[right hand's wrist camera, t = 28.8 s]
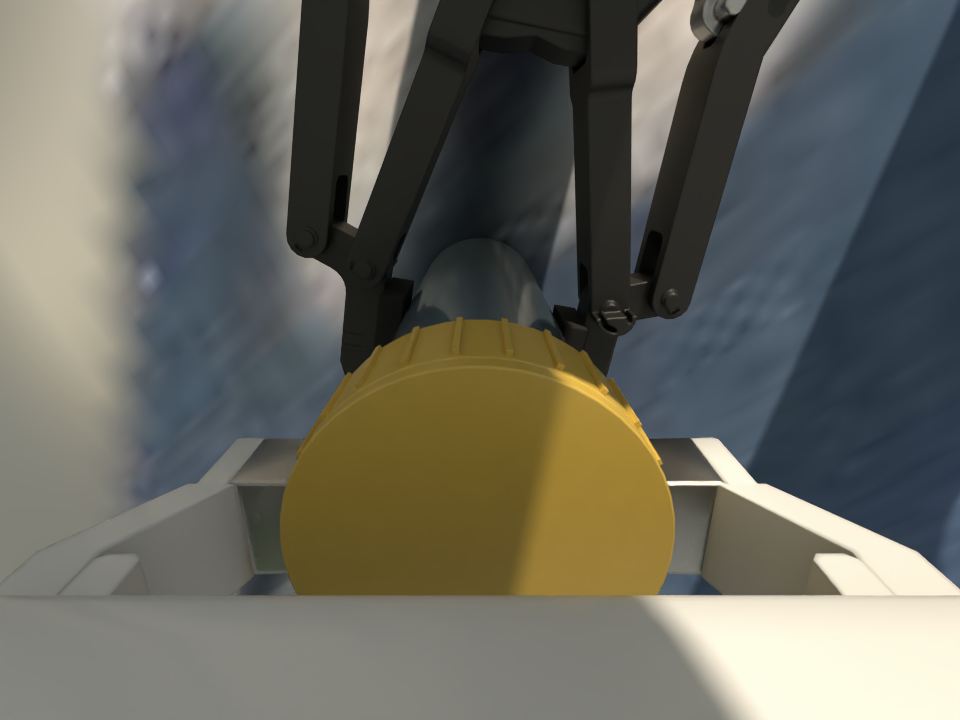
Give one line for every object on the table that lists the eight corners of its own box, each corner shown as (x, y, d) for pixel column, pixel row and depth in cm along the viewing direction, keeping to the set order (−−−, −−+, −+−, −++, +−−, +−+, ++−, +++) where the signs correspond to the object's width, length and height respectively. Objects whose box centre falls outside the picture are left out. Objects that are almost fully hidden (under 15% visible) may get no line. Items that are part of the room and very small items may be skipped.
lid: (274, 526, 11) (221, 618, 8) (395, 252, 9) (366, 281, 6) (539, 629, 12) (553, 736, 9) (700, 402, 10) (765, 472, 7)
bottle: (407, 325, 24) (289, 580, 9) (446, 219, 22) (378, 320, 8) (509, 364, 25) (553, 659, 10) (554, 263, 23) (688, 436, 8)
